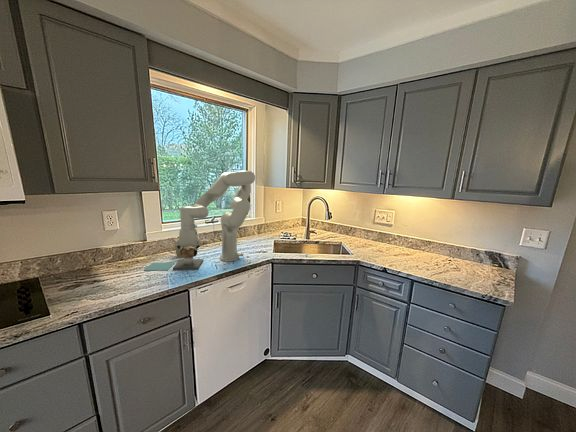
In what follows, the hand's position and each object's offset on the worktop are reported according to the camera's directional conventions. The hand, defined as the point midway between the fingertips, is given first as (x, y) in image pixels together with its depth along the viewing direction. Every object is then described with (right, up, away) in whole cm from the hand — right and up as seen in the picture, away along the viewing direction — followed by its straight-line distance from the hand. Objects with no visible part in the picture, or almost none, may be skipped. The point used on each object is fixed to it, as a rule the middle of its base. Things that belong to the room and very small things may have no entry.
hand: (189, 255), depth 146 cm
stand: (-1, -6, +1) cm, 6 cm away
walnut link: (0, 0, 0) cm, 0 cm away
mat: (-16, -6, -3) cm, 18 cm away
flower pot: (-12, -3, +16) cm, 20 cm away
